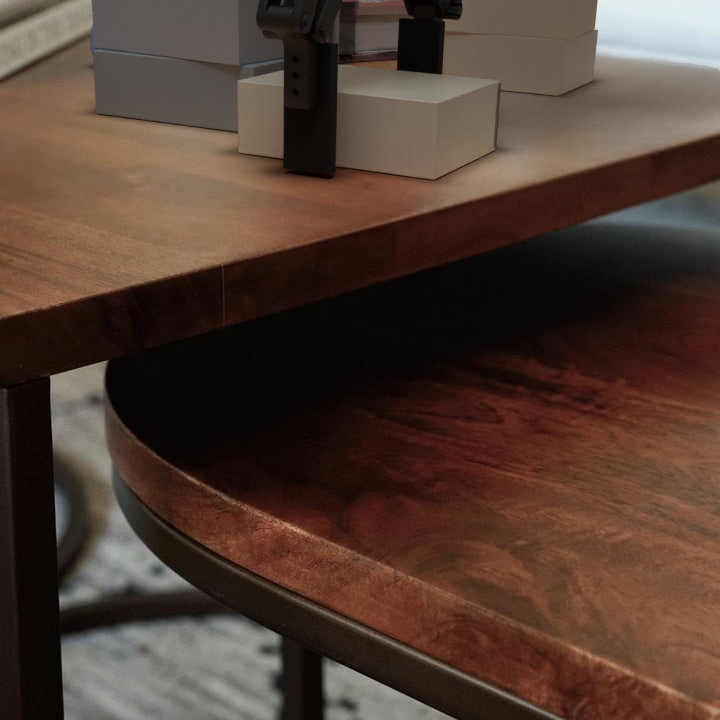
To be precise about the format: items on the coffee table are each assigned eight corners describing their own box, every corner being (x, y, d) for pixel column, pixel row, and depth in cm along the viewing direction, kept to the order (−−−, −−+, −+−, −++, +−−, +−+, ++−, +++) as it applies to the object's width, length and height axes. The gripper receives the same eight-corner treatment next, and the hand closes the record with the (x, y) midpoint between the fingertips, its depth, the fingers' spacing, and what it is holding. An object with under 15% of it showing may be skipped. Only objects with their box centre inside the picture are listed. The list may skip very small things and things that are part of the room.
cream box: (496, 149, 68) (501, 80, 66) (434, 180, 60) (438, 102, 59) (316, 127, 73) (317, 62, 71) (237, 153, 65) (236, 80, 64)
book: (207, 70, 93) (205, 6, 92) (130, 44, 107) (127, -13, 105) (472, 56, 106) (476, -2, 104) (373, 34, 120) (374, -17, 118)
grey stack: (326, 112, 78) (328, -14, 75) (251, 135, 70) (249, -4, 67) (174, 94, 83) (170, -24, 80) (87, 114, 75) (79, -17, 72)
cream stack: (597, 81, 94) (607, -24, 91) (560, 97, 86) (570, -17, 83) (456, 67, 99) (461, -32, 96) (409, 81, 91) (413, -26, 88)
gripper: (416, -245, 70) (400, 109, 78) (174, -309, 50) (187, 181, 58) (534, -247, 67) (505, 121, 75) (329, -316, 47) (320, 202, 55)
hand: (367, 148), depth 66 cm, fingers open, 13 cm apart
